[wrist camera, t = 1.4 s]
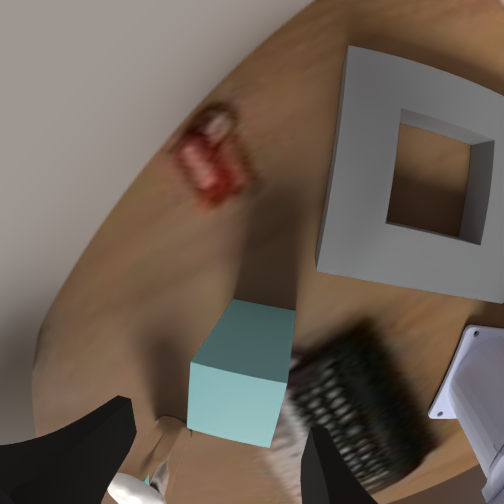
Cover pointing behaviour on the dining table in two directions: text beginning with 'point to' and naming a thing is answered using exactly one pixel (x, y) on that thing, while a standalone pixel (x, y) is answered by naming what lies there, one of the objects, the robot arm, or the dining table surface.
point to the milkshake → (152, 464)
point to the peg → (242, 373)
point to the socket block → (381, 176)
